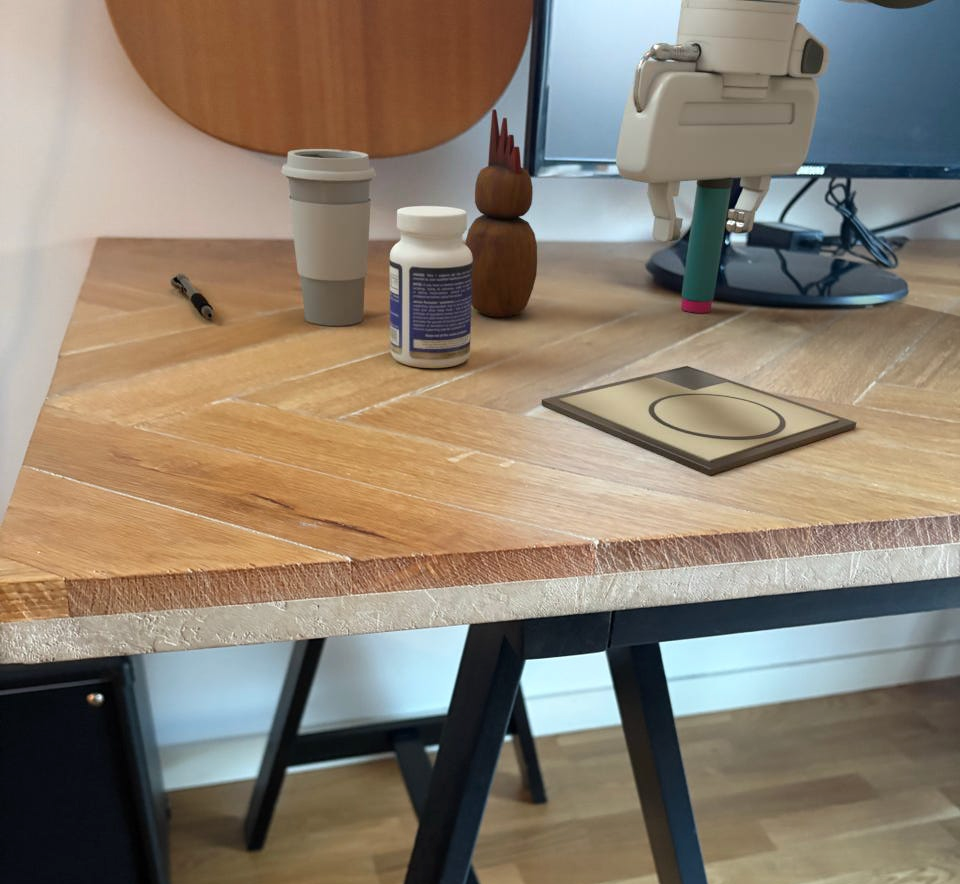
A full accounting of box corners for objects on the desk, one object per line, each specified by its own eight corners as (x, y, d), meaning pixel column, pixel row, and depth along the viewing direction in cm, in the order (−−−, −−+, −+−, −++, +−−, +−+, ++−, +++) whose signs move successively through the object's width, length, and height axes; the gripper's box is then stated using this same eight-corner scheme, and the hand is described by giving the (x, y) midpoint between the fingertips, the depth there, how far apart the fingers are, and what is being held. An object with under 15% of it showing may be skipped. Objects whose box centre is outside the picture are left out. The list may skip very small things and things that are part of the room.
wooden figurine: (457, 302, 86) (462, 106, 78) (522, 302, 87) (533, 109, 79) (471, 322, 81) (478, 114, 73) (540, 322, 82) (554, 116, 74)
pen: (167, 283, 87) (165, 270, 87) (186, 282, 88) (185, 269, 87) (196, 323, 76) (194, 308, 76) (218, 322, 77) (216, 307, 76)
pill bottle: (484, 356, 72) (490, 209, 67) (442, 375, 68) (445, 220, 63) (418, 343, 75) (419, 200, 70) (374, 360, 71) (371, 209, 65)
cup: (392, 315, 82) (391, 153, 75) (353, 334, 76) (349, 161, 70) (316, 304, 84) (309, 146, 77) (273, 321, 78) (262, 153, 72)
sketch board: (685, 371, 71) (687, 363, 71) (855, 428, 62) (857, 419, 62) (541, 405, 64) (541, 396, 63) (710, 475, 55) (712, 466, 54)
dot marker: (693, 304, 89) (714, 163, 83) (719, 311, 87) (742, 167, 81) (672, 308, 88) (691, 164, 82) (697, 315, 86) (719, 168, 80)
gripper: (673, 44, 69) (646, 253, 76) (843, 52, 80) (804, 234, 88) (609, 39, 73) (589, 238, 81) (779, 48, 85) (747, 222, 92)
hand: (703, 236), depth 84 cm, fingers open, 8 cm apart
